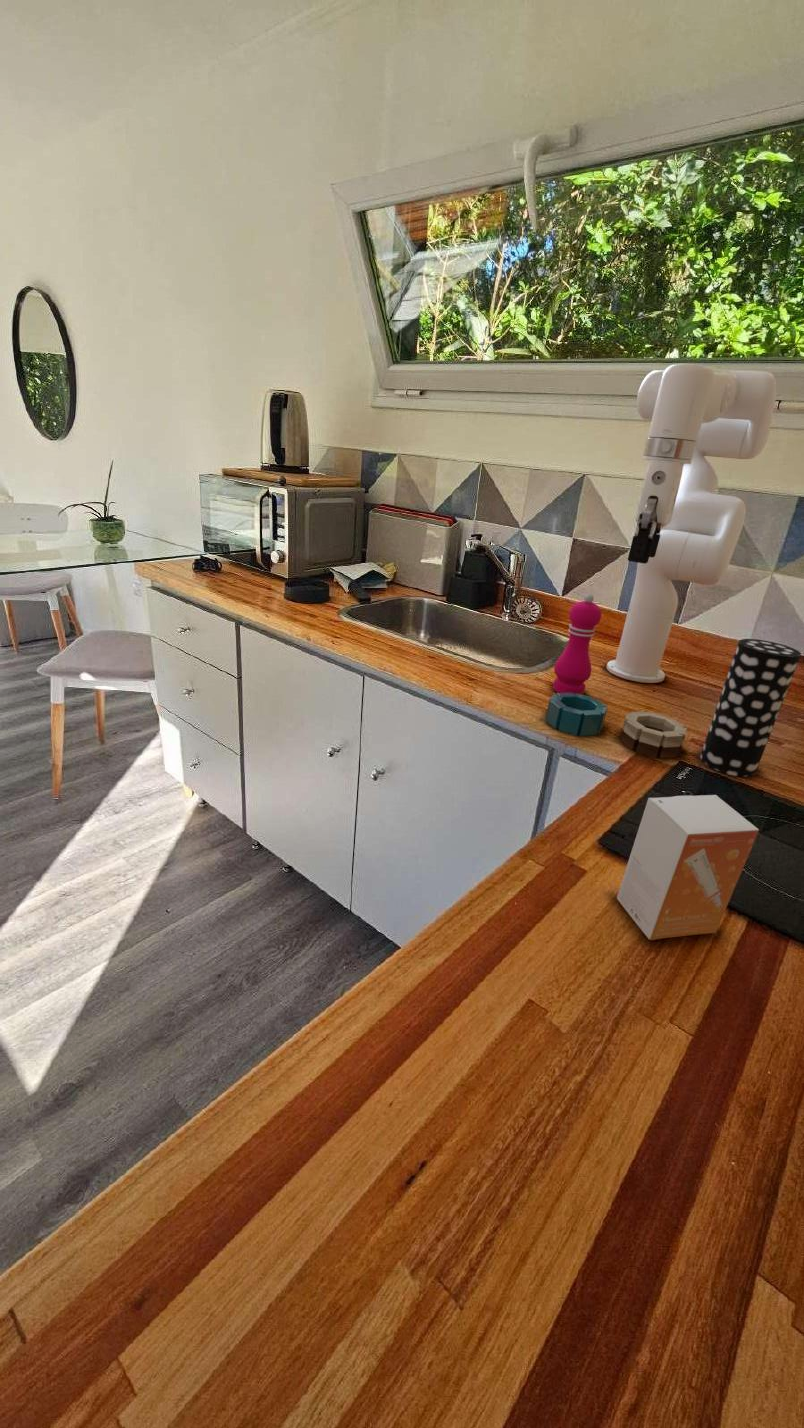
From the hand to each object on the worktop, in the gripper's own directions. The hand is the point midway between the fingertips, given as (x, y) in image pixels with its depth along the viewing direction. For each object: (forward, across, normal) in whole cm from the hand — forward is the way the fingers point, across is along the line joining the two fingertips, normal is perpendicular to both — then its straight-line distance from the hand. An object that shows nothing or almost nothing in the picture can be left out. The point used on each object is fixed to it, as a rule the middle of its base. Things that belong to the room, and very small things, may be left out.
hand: (641, 558), depth 104 cm
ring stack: (+28, -12, -10) cm, 32 cm away
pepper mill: (+28, +4, +8) cm, 30 cm away
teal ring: (+28, -12, +3) cm, 31 cm away
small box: (+28, -56, -17) cm, 65 cm away
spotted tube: (+28, -11, -22) cm, 38 cm away
